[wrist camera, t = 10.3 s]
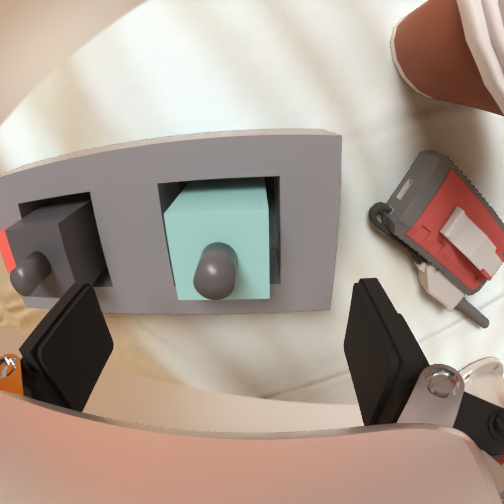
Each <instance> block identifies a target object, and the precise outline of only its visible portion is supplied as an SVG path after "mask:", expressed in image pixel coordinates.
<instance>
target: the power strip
mask: <svg viewBox="0 0 504 504" xmlns="http://www.w3.org/2000/svg"><path fill="white" fill-rule="evenodd" d="M341 152H342V135H339V134H336V133H333V132H329V131H326V130H323V129H256V130H235V131H219V132H207V133H195V134H185V135H176V136H168V137H160V138H152V139H145V140H139V141H132V142H126V143H120V144H114V145H109V146H103V147H98V148H93V149H88V150H84V151H79V152H74V153H70V154H66V155H61V156H57V157H53V158H49V159H45V160H42V161H38V162H34V163H31V164H27V165H24V166H21V167H19V168H16V169H14V170H11V171H9V172H6V173H4V174H2V175H0V252H1V254H2V257H3V260H4V263H5V266H6V269H7V271H8V273H10V280H11V283H12V285H13V287H14V289H15V290H16V291H17V292H18V293H19V294H20V295H21V296H22V298H23V301H24V303H25V305H26V307H30V308H41V309H52V307H53V306H54V305H55V304H56V303H57V302H58V301H59V299H60V298H61V297H62V296H63V295H64V294H65V293H66V291H67V290H68V289H69V288H70V287H71V286H72V285H73V284H74V283H89V284H90V286H91V287H93V288H94V290H95V293H96V296H97V299H98V302H99V305H100V308H101V311H102V312H103V313H129V314H255V313H281V312H302V311H319V310H330V306H331V298H332V289H333V280H334V270H335V260H336V248H337V236H338V222H339V205H340V185H341ZM265 176H274V182H275V238H276V248H275V249H269V278H270V299H237V300H178V295H177V290H176V285H175V280H174V274H173V269H172V263H171V257H170V251H169V245H168V239H167V233H166V226H165V219H164V213H165V212H166V210H167V209H168V208H169V207H170V205H171V204H172V203H173V202H174V200H175V199H176V198H177V197H178V196H179V194H180V193H181V188H180V181H192V180H205V179H221V178H240V177H265Z"/></svg>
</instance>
